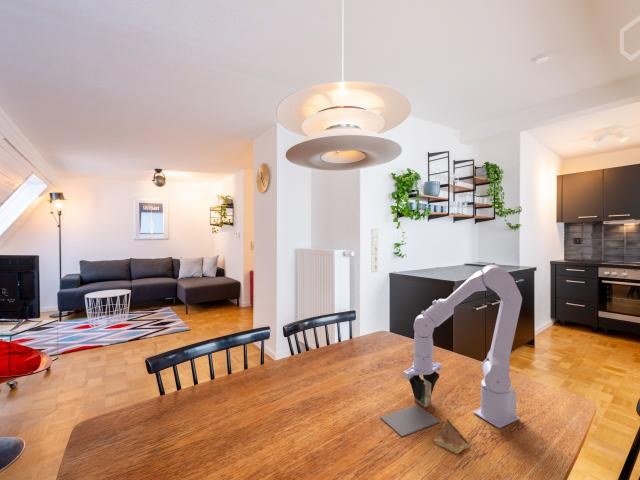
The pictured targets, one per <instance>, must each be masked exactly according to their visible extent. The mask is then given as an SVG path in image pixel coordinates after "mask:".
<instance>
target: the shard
mask: <svg viewBox="0 0 640 480" xmlns="http://www.w3.org/2000/svg"><path fill="white" fill-rule="evenodd" d="M433 442H434V444H435V445H437V446H440V447H443V448H445V449H447V450H449V451H451V452H453V453H455V454H459V453H461V452H462V451H463V450H466V449H469V448H470V447H471V444H470V443H469V442H468V441H467V439H466V438H464V435H462V434H461V432H460V431H459V430H458V429H457V428H456V427H455V426H454V425H453V424H452V423H451V421H450V420H449V419H446V420H445V422H444V424H443V425H442V426H441V428H440V429H439V430H438V432H437V434H436V435H435V438H434V441H433Z"/></svg>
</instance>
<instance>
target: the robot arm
mask: <svg viewBox="0 0 640 480" xmlns="http://www.w3.org/2000/svg"><path fill="white" fill-rule="evenodd" d="M486 287H487V288H489V289H491V291H493V292H494V293H496V295H497V296H498V297H499V299H500V303H499V307H498V311H497V312H498V313H497V317H496V320H495V321H496V322H495V327H494V330H493V331H494V332H493V336H492V339H491V340H492V341H491V346H490V349H489V351H488V352H487V355H486V358H485V359H484V360H483V361H482V363H481V366H480V367H481V372H482V374H483V378H482V380H481V381H480V408H479V409H476V410H473V414H475V415H476V416H478V417H480V418H481V419H483V420H485V422H488V423H490V424H491V425H493V426H494V427H497V428H498V429H501V428H504V427H505V426H507V425H509V424H511V423H514V422H516V421H518V420H520V417H519V416H518V415H517V393H516V390H515V389H514V387H512V386H511V385H512V381H511V378H510V373H511V372H510V370H511V367H510V358H511V357H510V356H511V352H512V347H513V343H514V340H515V335H516V329H517V326H518V325H517V324H518V321H519V318H520V317H519V316H520V311H521V306H522V304H523V303H522V302H523V297H522V295H521V294H522V293H521V292H520V289H519V288H518V286H517V284H516V282H515V278H514V277H513V276H512V275H511V274H510V273H509V272H508V271H507V270H505V269H504V268H502V267H500V266H499V265H497V264H493V263H490V264H486V265H485V266H483V267H482V269H481V270H477V271H476V272H475V273H474V274H472V275H471V276H470V277H469V278H467V279H466V280H465V281H464V282H462V284H461V285H460V286H459V287H458V288H457V289H455V290H454V291H453V292H452V293H451V294H450V295H449V296H448V297H447V298H439V299H437V300H436V299H434V300H433V301H432V302H431V303H432V305H430V306H429V307H428V308H426V309H425V310H422V311H421V313H420V314H419V315H417V316H416V317H415V319H414V323H413V331H414V333H413V334H414V338H413V362H412V364H411V367H409V368H407V369H406V370H403V373H402V378H404V379H405V380H408V381H409V383H410V386H411V390H412V393H413V394H412V395H413V398H414V399H415V398H416V399H418V400H420V399H421V391H422V386H423V383H424V380H422V379H420V377H421V376H422V378H423V379H425V380H427V381H429V382H430V383H431V396H432V394H433V391H434V388H435V385H436V383H437V381H438V380H439V378H440V374H439V373H438V372H437V371H442V370H443V364H442V363H440V362H437V361H436V362H434V339H433V333H434V330H435V328H437V327H440V325H441V324H443V323H444V322H445V321H447V320H448V319H449V318H450V317H452V315H453V314H454V313H455V312H454V311H455V307H456V306H458V305H459V304H460V303H462V302H463V301H465V299H467V298H468V297H470V296H471V295H472V294H474V293H475V292H484V291H487V290H488V289H487V288H486Z"/></svg>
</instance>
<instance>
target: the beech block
mask: <svg viewBox="0 0 640 480" xmlns="http://www.w3.org/2000/svg"><path fill="white" fill-rule="evenodd" d="M419 377H420V379H422V380H424V383H423V386H422V391H421V399H420V400H418V399H416V398H415V397H414V401H415V402H417V403H419V404H420V405H422V406H423V407H424V408H427V407H430V406H431V405H432V395H431V383H430V382H429V381H427V380H425V379H424V378H423V376H422V377H421V376H419Z"/></svg>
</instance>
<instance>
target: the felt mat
mask: <svg viewBox="0 0 640 480" xmlns="http://www.w3.org/2000/svg"><path fill="white" fill-rule="evenodd" d="M380 419H381V420H382V421H383V422H384V423H386V425H387V426H389V428H391V429H392V430H393V431H394V432H396V433H397V434H398V435H399V436H400V438H401V437H402V438H403V437H405V436H408V435H410V434H413V433H416V432H418V431H422V430H423V429H426V428H429V427H430V426H433V425H436V424H438V423H441V420H439V419H438V418H436V417H435V416H434V415H432V414H431V413H429V412H428V411H426V410H425V409H424V408H422V407H420V406H419V405H418V404H415V405H412V406H409V407H406V408H403V409H399V410H396V411H394V412H392V413H388V414H385V415H382V416H380Z"/></svg>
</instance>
